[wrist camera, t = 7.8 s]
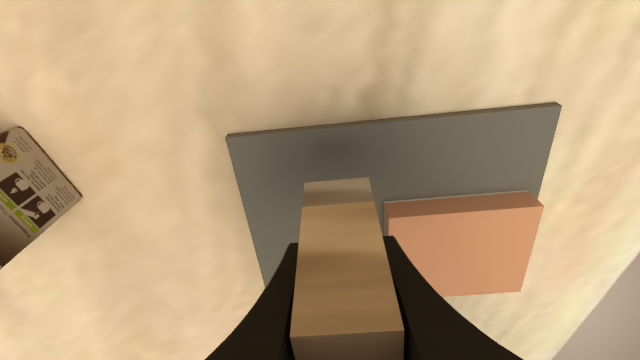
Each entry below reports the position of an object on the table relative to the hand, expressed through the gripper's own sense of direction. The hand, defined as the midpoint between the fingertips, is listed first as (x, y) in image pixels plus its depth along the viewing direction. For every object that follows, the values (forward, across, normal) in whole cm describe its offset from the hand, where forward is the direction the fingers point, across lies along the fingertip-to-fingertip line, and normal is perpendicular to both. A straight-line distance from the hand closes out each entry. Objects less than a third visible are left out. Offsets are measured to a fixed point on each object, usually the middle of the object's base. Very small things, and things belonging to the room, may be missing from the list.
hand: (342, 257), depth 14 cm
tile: (+9, -3, +8) cm, 12 cm away
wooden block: (+3, 0, 0) cm, 3 cm away
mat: (+10, -4, +6) cm, 12 cm away
